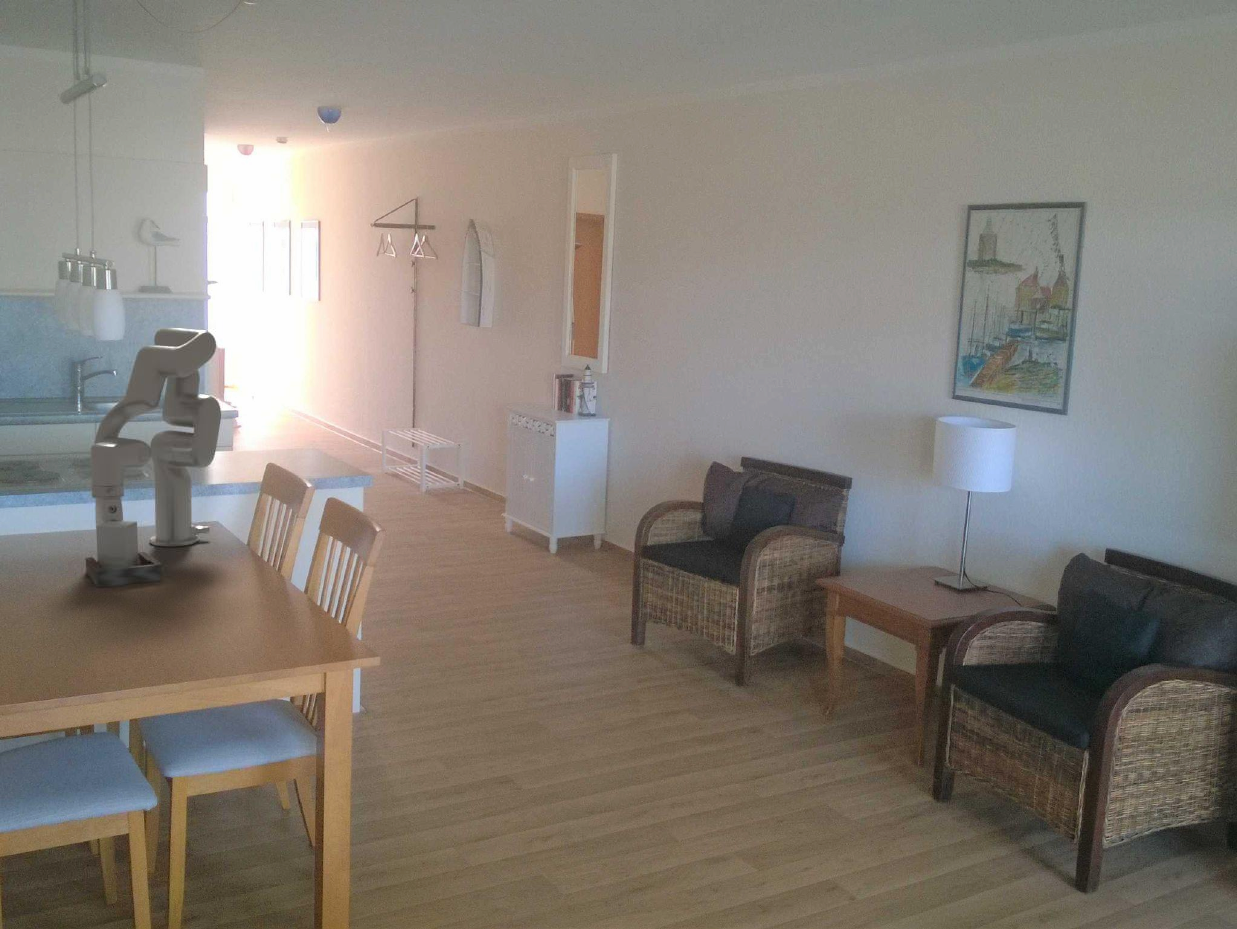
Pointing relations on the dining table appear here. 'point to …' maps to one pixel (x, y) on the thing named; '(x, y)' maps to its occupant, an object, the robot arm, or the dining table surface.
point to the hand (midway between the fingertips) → (109, 559)
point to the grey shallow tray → (125, 572)
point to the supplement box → (117, 544)
